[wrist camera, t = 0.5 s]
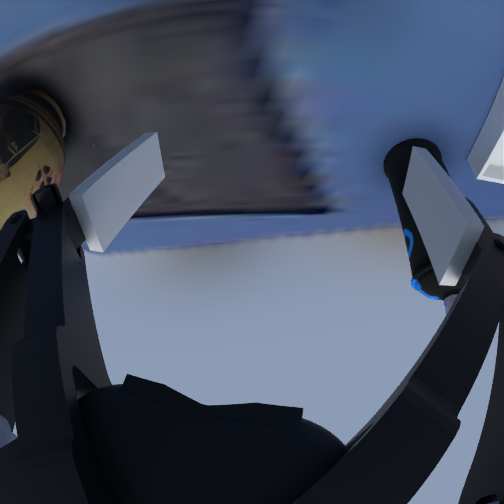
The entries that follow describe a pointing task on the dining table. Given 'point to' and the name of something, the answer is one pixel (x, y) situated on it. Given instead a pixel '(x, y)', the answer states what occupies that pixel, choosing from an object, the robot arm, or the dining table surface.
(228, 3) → the dining table surface
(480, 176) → the tray
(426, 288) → the aerosol can
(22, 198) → the ceramic jug
